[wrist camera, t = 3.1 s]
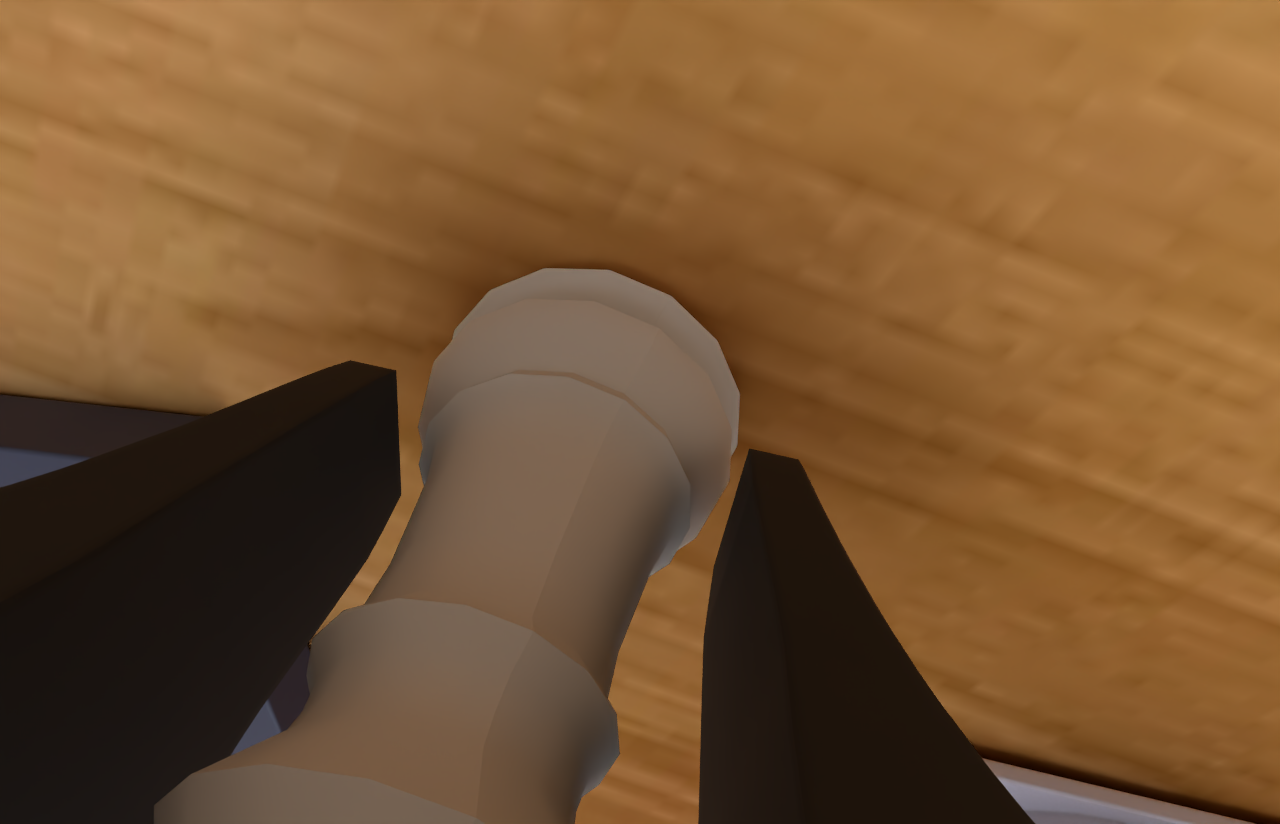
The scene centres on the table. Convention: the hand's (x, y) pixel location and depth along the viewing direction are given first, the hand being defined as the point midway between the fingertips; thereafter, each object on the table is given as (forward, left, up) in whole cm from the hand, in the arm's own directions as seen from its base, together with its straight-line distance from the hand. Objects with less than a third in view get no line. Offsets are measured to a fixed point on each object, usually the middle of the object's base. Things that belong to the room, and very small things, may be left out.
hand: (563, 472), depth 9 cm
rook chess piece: (0, 0, -2) cm, 2 cm away
